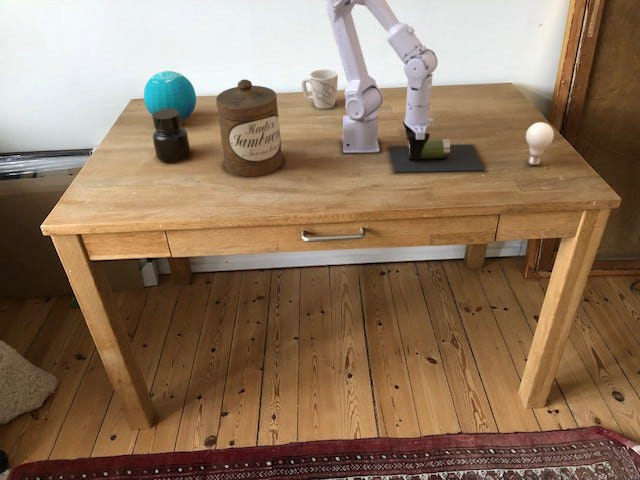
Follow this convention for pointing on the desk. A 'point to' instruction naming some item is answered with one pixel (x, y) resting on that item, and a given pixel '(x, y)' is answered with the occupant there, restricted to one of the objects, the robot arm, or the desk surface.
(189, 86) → the decorative orb
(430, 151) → the can
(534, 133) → the lightbulb
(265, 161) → the wooden container
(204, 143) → the desk surface
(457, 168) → the mat
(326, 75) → the mug
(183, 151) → the ink bottle
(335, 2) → the robot arm
